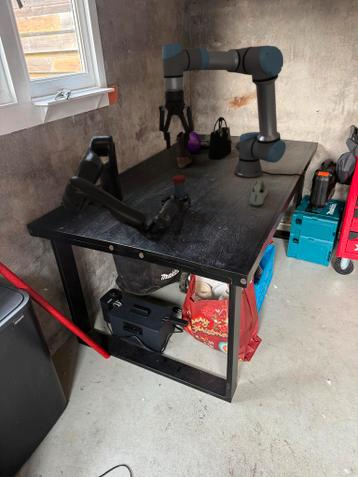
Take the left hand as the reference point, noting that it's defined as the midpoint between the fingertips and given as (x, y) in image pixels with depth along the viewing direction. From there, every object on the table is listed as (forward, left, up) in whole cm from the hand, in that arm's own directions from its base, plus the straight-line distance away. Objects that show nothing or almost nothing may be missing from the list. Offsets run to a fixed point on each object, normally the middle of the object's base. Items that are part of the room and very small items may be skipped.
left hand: (181, 195), depth 152 cm
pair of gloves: (-12, +115, -6) cm, 116 cm away
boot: (-17, +66, -6) cm, 68 cm away
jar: (0, -3, -6) cm, 7 cm away
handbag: (+3, +85, -6) cm, 86 cm away
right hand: (0, -3, +22) cm, 22 cm away
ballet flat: (+34, +17, -6) cm, 38 cm away
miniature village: (+25, +111, -6) cm, 114 cm away
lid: (0, -3, +9) cm, 10 cm away
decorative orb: (-19, +89, -6) cm, 91 cm away
